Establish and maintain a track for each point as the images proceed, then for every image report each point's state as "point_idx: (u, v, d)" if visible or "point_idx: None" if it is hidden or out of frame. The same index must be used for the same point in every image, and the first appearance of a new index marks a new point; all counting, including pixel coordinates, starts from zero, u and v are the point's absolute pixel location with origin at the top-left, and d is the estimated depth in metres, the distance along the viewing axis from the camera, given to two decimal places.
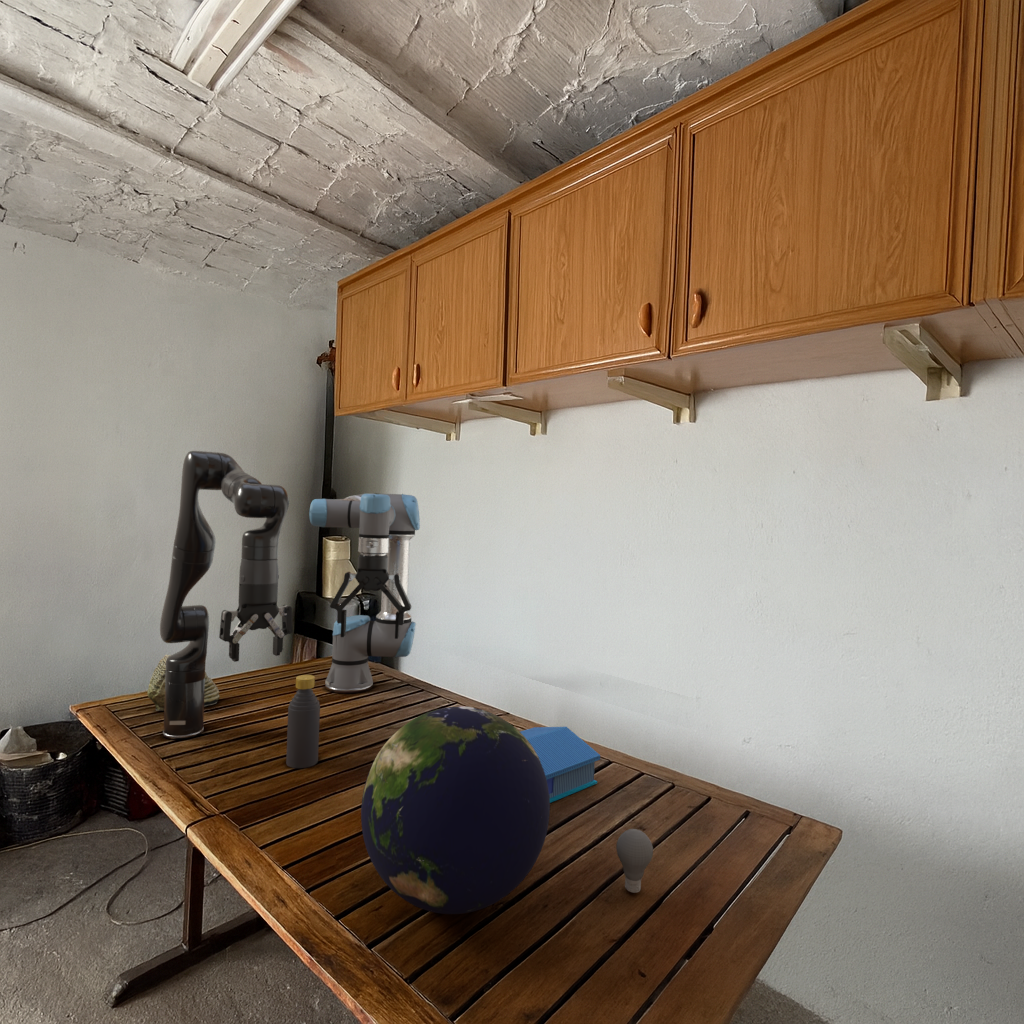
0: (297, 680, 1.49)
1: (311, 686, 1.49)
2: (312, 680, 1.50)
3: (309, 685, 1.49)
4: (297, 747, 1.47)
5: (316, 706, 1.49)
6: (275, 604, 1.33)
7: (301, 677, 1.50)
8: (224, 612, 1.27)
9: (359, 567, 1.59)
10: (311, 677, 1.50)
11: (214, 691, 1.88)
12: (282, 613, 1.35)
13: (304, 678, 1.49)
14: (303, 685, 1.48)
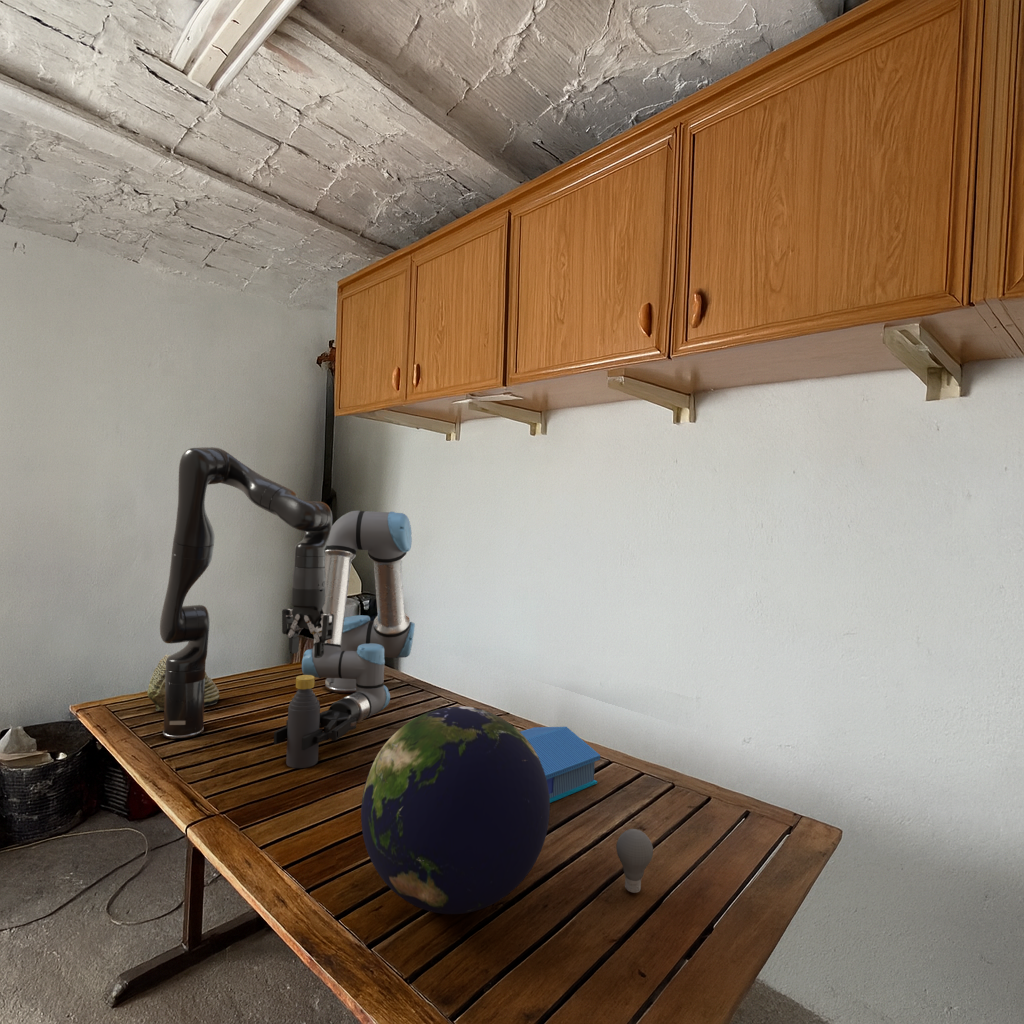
0: (297, 680, 1.49)
1: (311, 686, 1.49)
2: (312, 680, 1.50)
3: (309, 685, 1.49)
4: (297, 747, 1.47)
5: (316, 706, 1.49)
6: None
7: (301, 677, 1.50)
8: (330, 616, 1.47)
9: None
10: (311, 677, 1.50)
11: (214, 691, 1.88)
12: None
13: (304, 678, 1.49)
14: (303, 685, 1.48)
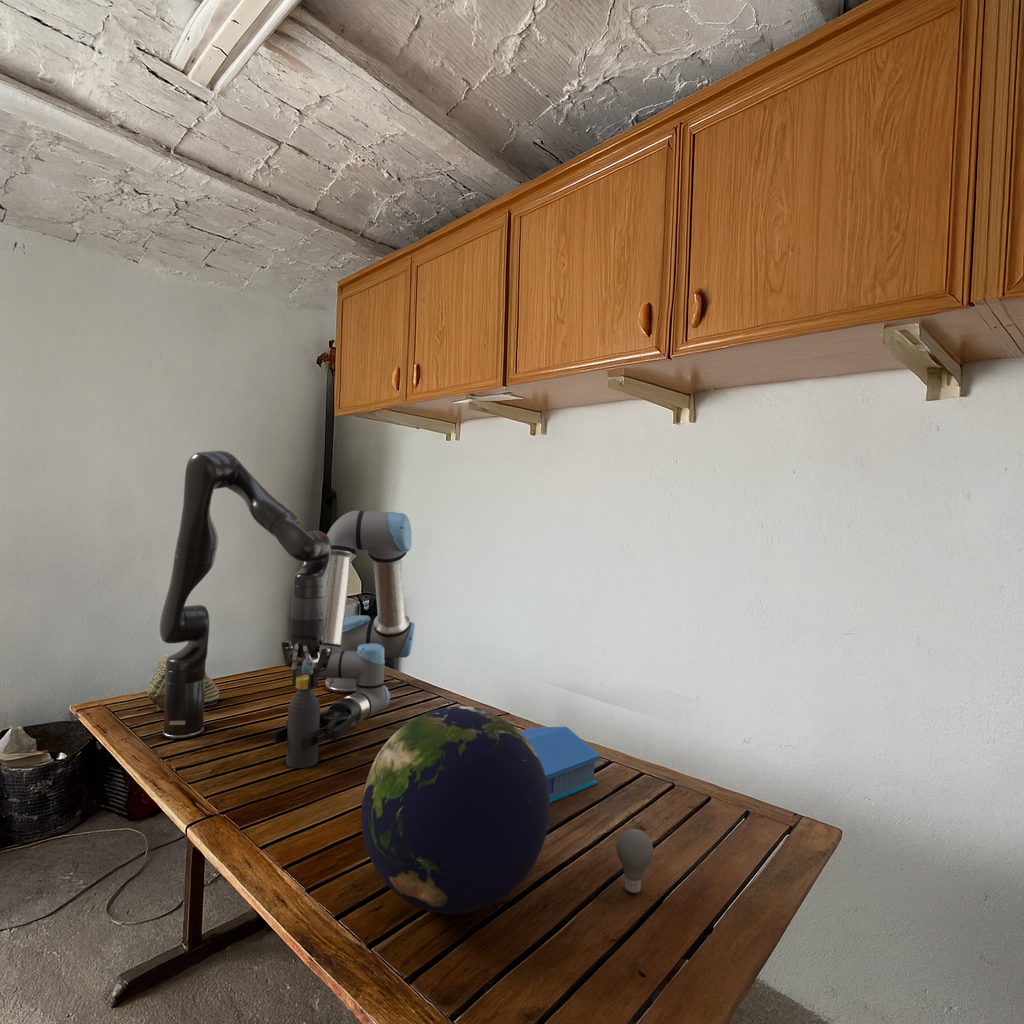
0: (297, 680, 1.49)
1: None
2: None
3: None
4: (297, 747, 1.47)
5: (316, 706, 1.49)
6: None
7: (301, 677, 1.50)
8: (329, 650, 1.47)
9: None
10: None
11: (214, 691, 1.88)
12: None
13: (304, 678, 1.49)
14: (303, 685, 1.48)
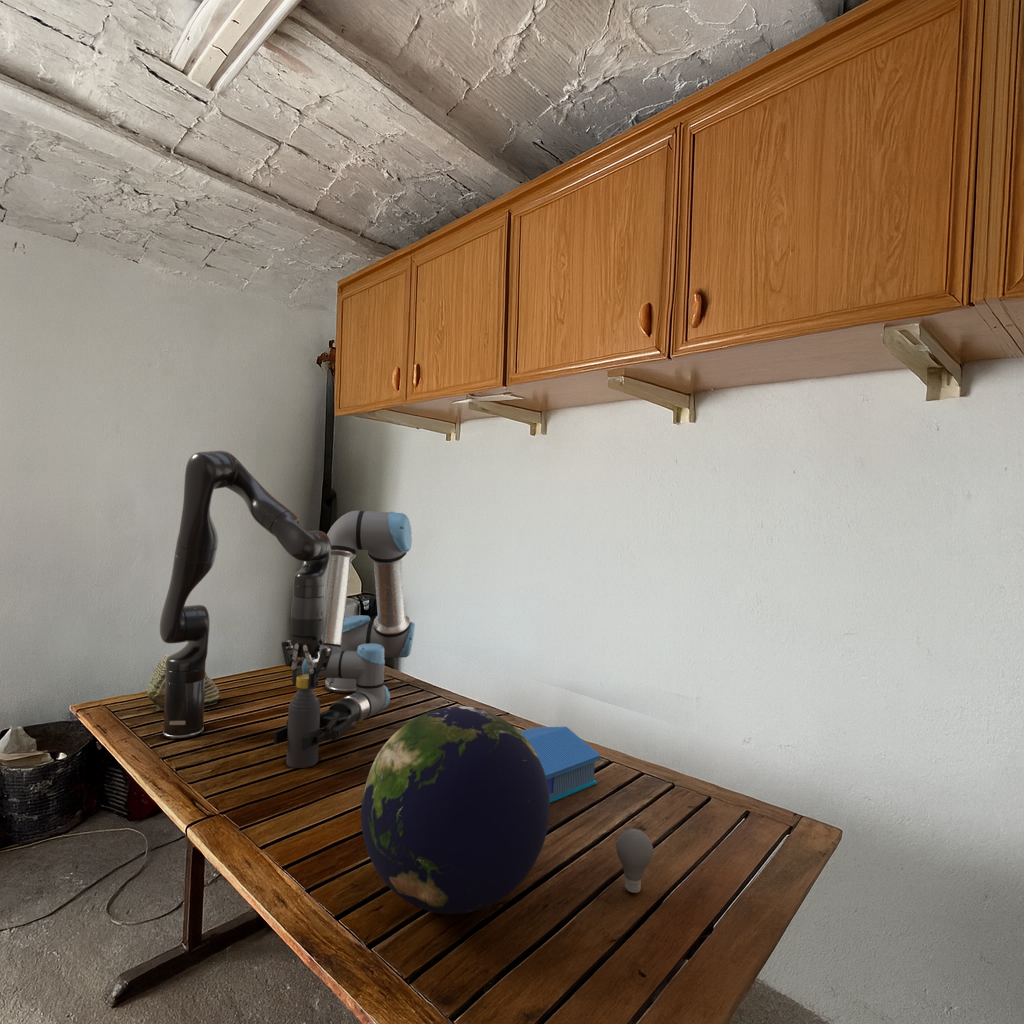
0: None
1: None
2: None
3: None
4: (297, 747, 1.47)
5: (316, 706, 1.49)
6: None
7: (308, 677, 1.50)
8: (329, 650, 1.47)
9: None
10: (306, 675, 1.52)
11: (214, 691, 1.88)
12: None
13: None
14: None
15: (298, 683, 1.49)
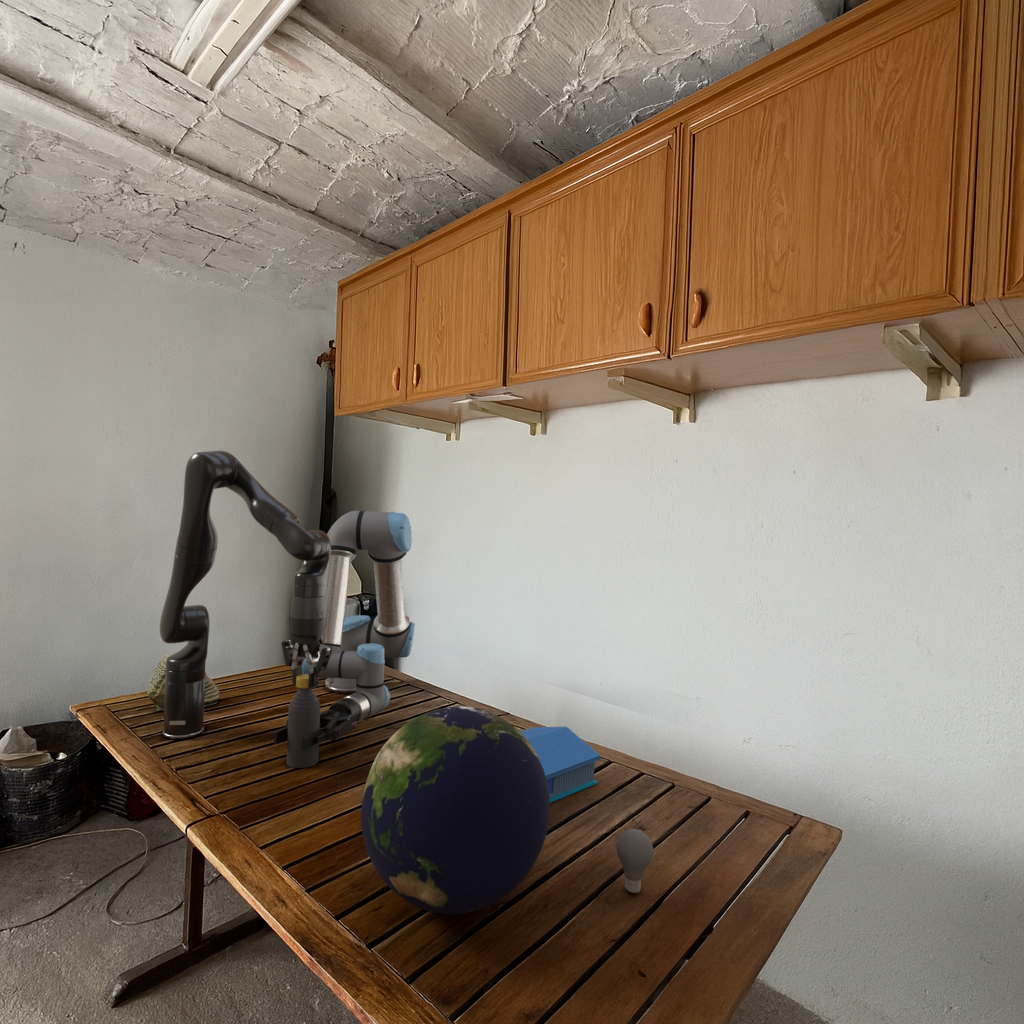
0: None
1: None
2: None
3: None
4: (297, 747, 1.47)
5: (316, 706, 1.49)
6: None
7: None
8: (329, 649, 1.47)
9: None
10: (299, 676, 1.50)
11: (214, 691, 1.88)
12: None
13: (305, 675, 1.51)
14: None
15: None
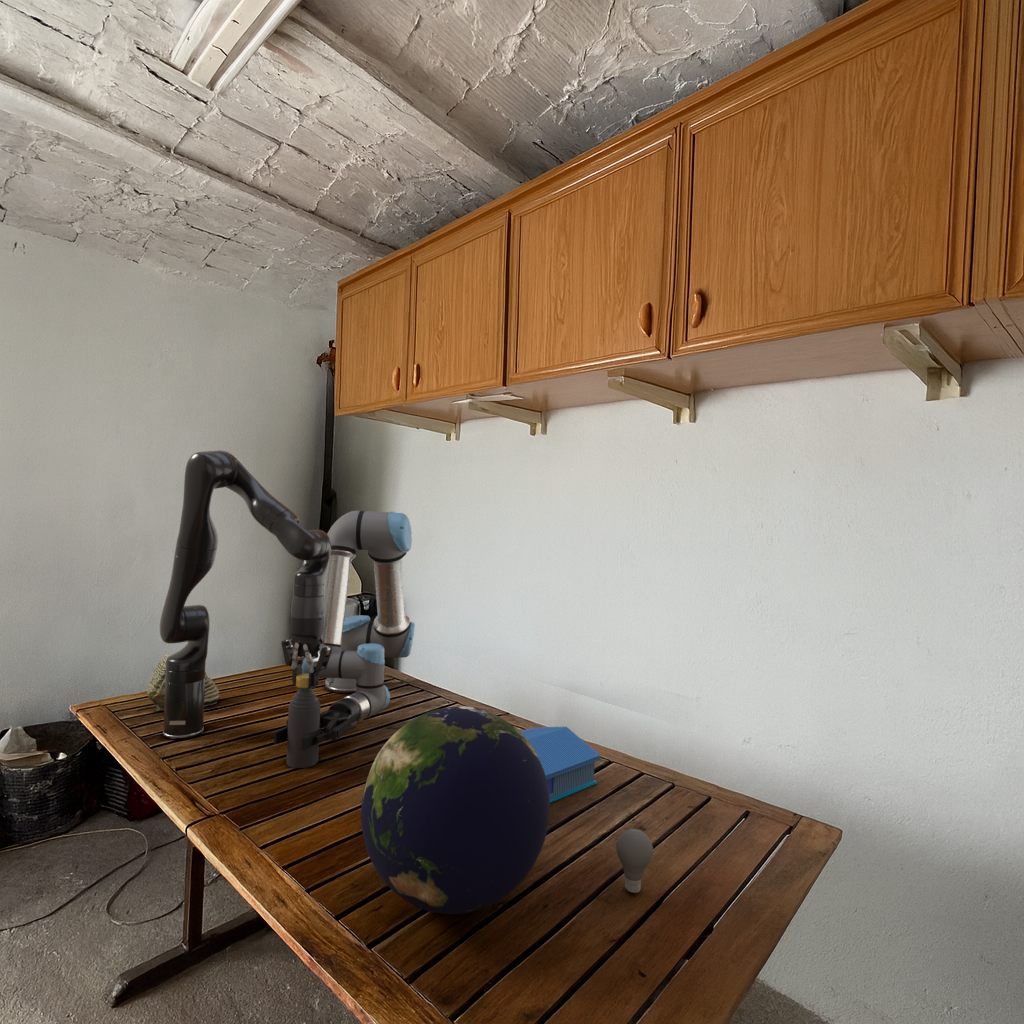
0: None
1: (302, 686, 1.48)
2: (303, 680, 1.48)
3: (300, 684, 1.48)
4: (297, 747, 1.47)
5: (316, 706, 1.49)
6: None
7: (302, 675, 1.51)
8: (329, 649, 1.47)
9: None
10: (306, 677, 1.49)
11: (214, 691, 1.88)
12: None
13: (301, 676, 1.50)
14: (297, 682, 1.49)
15: None
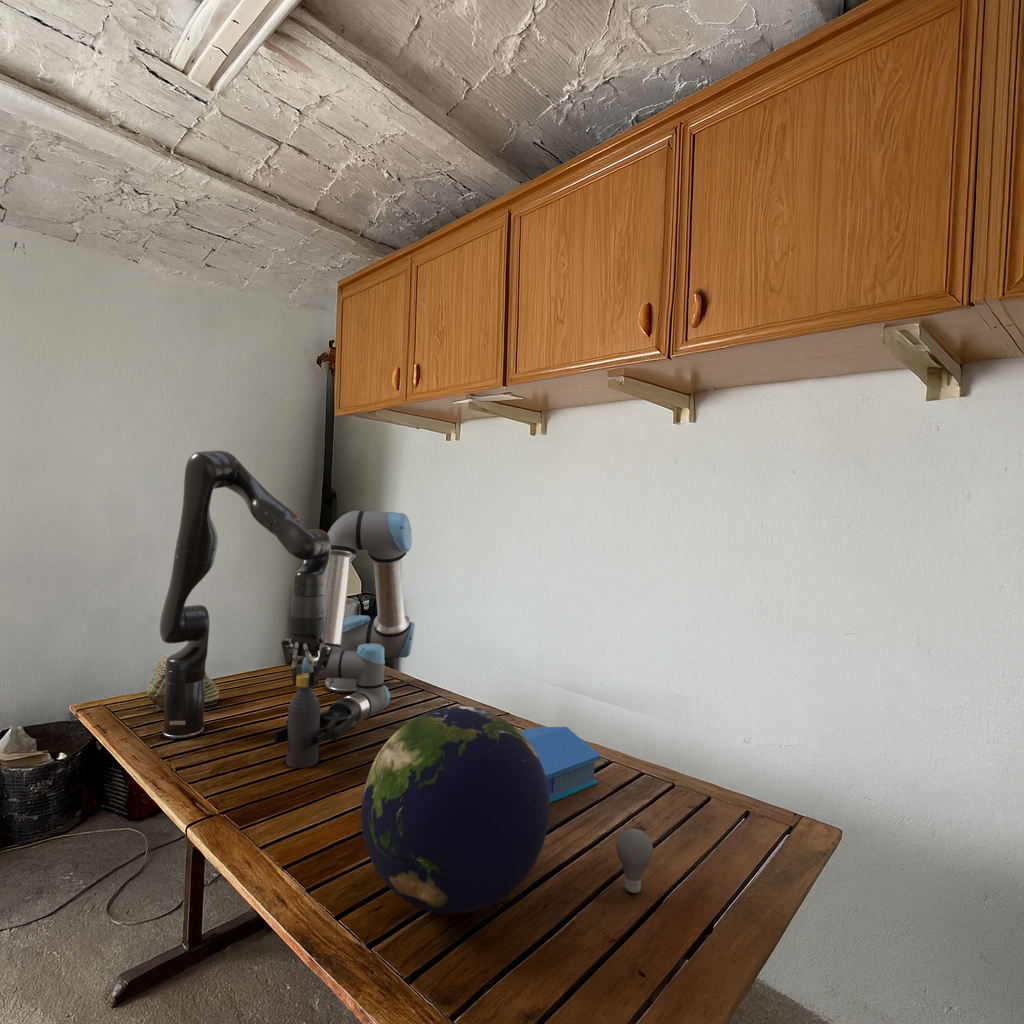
0: (301, 679, 1.48)
1: None
2: None
3: None
4: (297, 747, 1.47)
5: (316, 706, 1.49)
6: None
7: (303, 676, 1.49)
8: (329, 648, 1.48)
9: None
10: None
11: (214, 691, 1.88)
12: None
13: (307, 676, 1.50)
14: (308, 683, 1.49)
15: None
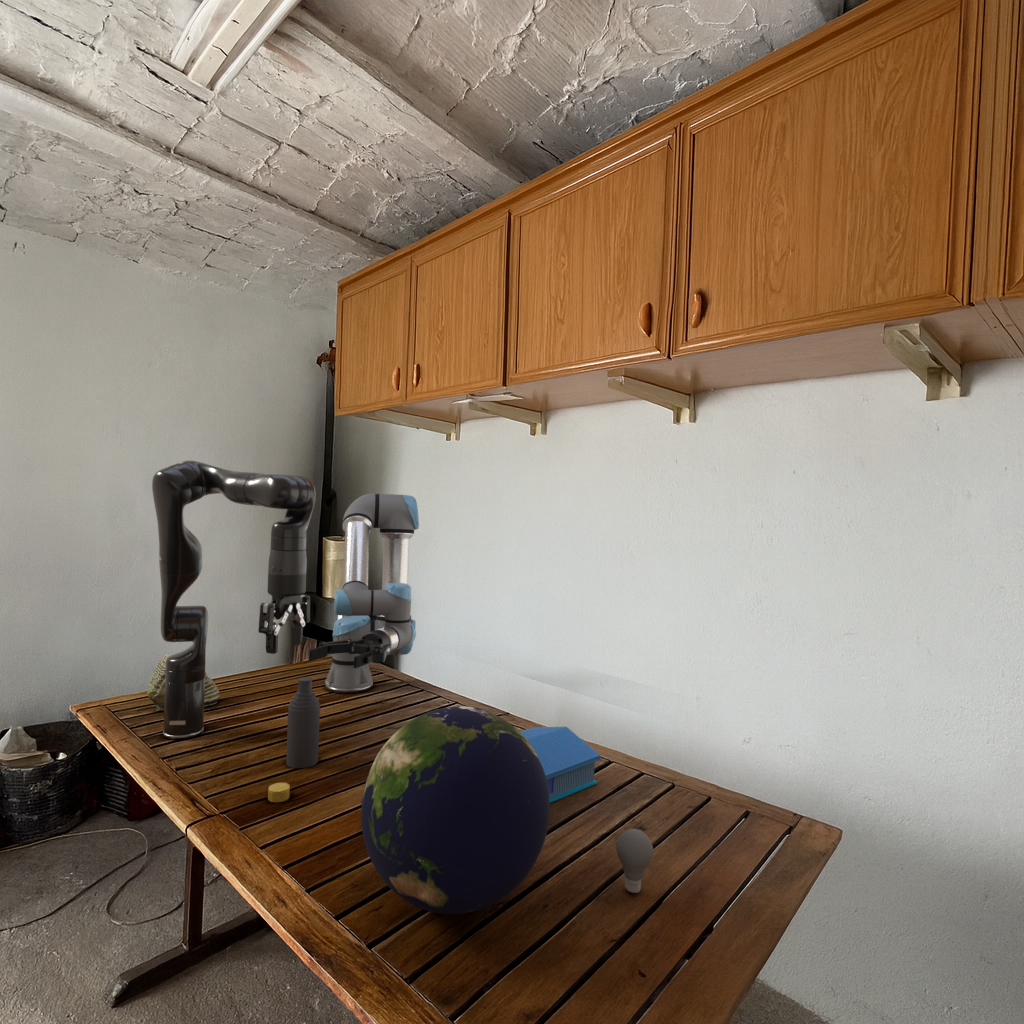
0: (289, 789, 1.33)
1: None
2: None
3: None
4: (297, 747, 1.47)
5: (316, 706, 1.49)
6: None
7: (283, 787, 1.32)
8: None
9: None
10: (276, 784, 1.34)
11: (214, 691, 1.88)
12: None
13: (283, 785, 1.33)
14: None
15: (275, 797, 1.30)
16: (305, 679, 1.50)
